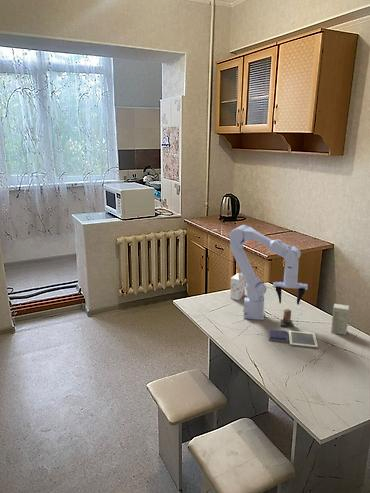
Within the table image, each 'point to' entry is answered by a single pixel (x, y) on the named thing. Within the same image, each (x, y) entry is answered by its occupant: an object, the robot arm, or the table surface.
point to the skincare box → (340, 319)
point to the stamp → (286, 319)
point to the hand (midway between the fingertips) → (288, 303)
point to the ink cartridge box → (237, 286)
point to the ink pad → (278, 336)
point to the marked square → (302, 339)
